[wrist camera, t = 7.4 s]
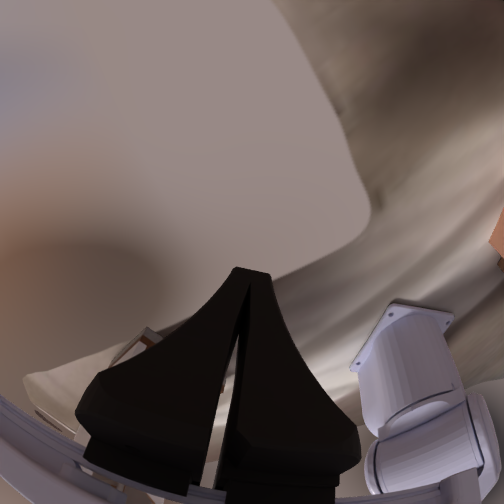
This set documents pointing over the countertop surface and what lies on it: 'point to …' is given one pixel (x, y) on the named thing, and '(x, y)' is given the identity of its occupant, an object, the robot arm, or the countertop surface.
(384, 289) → the countertop surface
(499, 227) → the terracotta brick
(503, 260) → the tan wooden box
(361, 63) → the countertop surface
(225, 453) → the robot arm
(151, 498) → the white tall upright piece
